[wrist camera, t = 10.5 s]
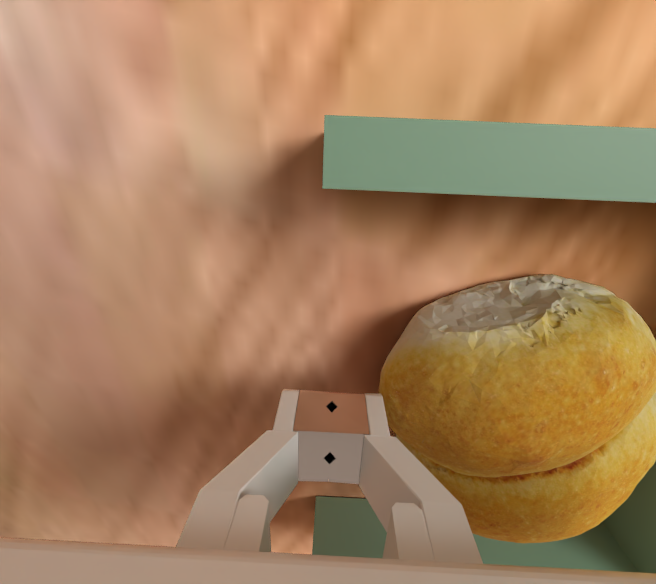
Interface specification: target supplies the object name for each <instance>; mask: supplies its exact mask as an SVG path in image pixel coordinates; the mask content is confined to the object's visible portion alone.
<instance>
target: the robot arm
mask: <svg viewBox="0 0 656 584" xmlns="http://www.w3.org/2000/svg"><path fill="white" fill-rule="evenodd" d="M328 479H329V482H338V483H351V484H359V487H360V489H361V490H362V492H363V494H364V495H365V497H366V499H367V500H368V502H369V504H370V505H371V507H372V509H373V510H374V512H375V514H376V515H377V517H378V519H379V520H380V522H381V524H382V525H383V527H384V529H385V530H386V532H387V536H386V541H385V547H384V552H383V558H365V557H346V556H329V555H311V554H293V553H275V552H271V540H270V522H271V520H272V519H273V517H274V516H275V515H276V513H277V512H278V510H279V509H280V508H281V506H282V505H283V503H284V502H285V501H286V499H287V498H288V496H289V495H290V494H291V492H292V491H293V489H294V488H295V487H296V485H297V484H298V481H322V482H328ZM0 584H656V573H639V572H621V571H603V570H585V569H567V568H549V567H531V566H513V565H495V564H483V562H482V559H481V556H480V553H479V551H478V548H477V545H476V542H475V540H474V537H473V534H472V531H471V528H470V526H469V523H468V520H467V517H466V515H465V512H464V509H463V506H462V504H461V503H460V502H459V501H458V500H457V499H456V498H455V497H454V496H453V495H452V494H451V493H450V492H449V491H448V490H447V489H446V488H445V487H444V486H443V485H442V484H441V483H440V482H439V481H438V480H437V479H436V478H435V477H434V476H433V475H432V474H431V473H430V471H429V470H428V469H427V468H426V467H425V466H424V465H423V464H422V463H421V462H420V461H419V460H418V459H417V458H416V457H415V456H414V455H413V454H412V453H411V452H410V451H409V450H408V449H407V448H406V447H405V446H404V445H403V444H402V443H401V442H400V441H399V440H398V439H397V438H396V437H393V436H390V432H389V427H388V422H387V417H386V412H385V407H384V401H383V396H382V395H381V394H378V393H342V392H325V391H311V390H294V389H283V391H282V392H281V396H280V401H279V405H278V409H277V413H276V417H275V421H274V425H273V430H267V431H266V432H265V433H263V434H262V435H261V436H260V437H259V438H258V439H257V440H256V441H254V442H253V443H252V444H251V445H250V446H249V447H248V448H246V449H245V450H244V451H243V452H242V453H241V454H240V455H239V456H237V457H236V458H235V459H234V460H233V461H232V462H231V463H230V464H228V465H227V466H226V467H225V468H224V469H223V470H222V471H221V472H219V473H218V474H217V475H216V476H215V477H214V478H213V479H212V480H210V481H209V482H208V483H207V484H206V485H205V486H204V487H203V488H201V489H200V491H199V493H198V495H197V498H196V500H195V503H194V505H193V507H192V510H191V512H190V514H189V517H188V519H187V521H186V524H185V526H184V529H183V531H182V533H181V536H180V538H179V540H178V543H177V545H176V547H167V546H149V545H131V544H112V543H94V542H76V541H58V540H40V539H22V538H4V537H0Z"/></svg>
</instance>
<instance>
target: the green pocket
mask: <svg viewBox="0 0 656 584" xmlns="http://www.w3.org/2000/svg"><path fill="white" fill-rule="evenodd" d="M322 188H323V189H347V190H370V191H393V192H417V193H440V194H463V195H487V196H510V197H533V198H557V199H580V200H603V201H626V202H650V203H656V129H655V128H630V127H605V126H581V125H556V124H531V123H507V122H482V121H458V120H433V119H408V118H384V117H359V116H334V115H325V121H324V154H323V187H322ZM472 534H473V533H472ZM386 536H387V532H386V530H385V529H384V527H383V525H382V524H381V522H380V520H379V519H378V517H377V515H376V514H375V512H374V510H373V509H372V507H371V505H370V504H369V502H368V500H367V499H361V498H342V497H324V496H316V503H315V519H314V535H313V550H312V555H329V556H346V557H365V558H383V552H384V547H385V541H386ZM473 537H474V540H475V542H476V545H477V548H478V551H479V553H480V556H481V559H482V562H483V564H495V565H513V566H531V567H549V568H567V569H585V570H603V571H621V572H639V573H656V461H655V463H654V465H653V466H652V467H651V468H650V469H649V470H648V471H647V473H646V474H645V476H644V477H643V478H642V479H641V481H640V482H639V483H638V484H637V485H636V487H635V489H634V490H633V492H632V493H631V495H630V496H629V497H628V499H627V500H626V501H625V502H624V503H623V504H622V505H620V506H619V507H618V508H617V509H616V510H615V511H614V512H613V513H612V514H611V515H610V516H608V517H607V518H606V519H605V520H604V521H602V522H601V523H600V524H599V525H597V526H596V527H594V528H592V529H590V530H588V531H586V532H584V533H582V534H580V535H578V536H575V537H571V538H567V539H563V540H558V541H552V542H542V543H515V542H507V541H500V540H494V539H490V538H485V537H482V536H479V535H476V534H473Z"/></svg>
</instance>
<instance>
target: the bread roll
mask: <svg viewBox="0 0 656 584" xmlns="http://www.w3.org/2000/svg"><path fill="white" fill-rule="evenodd" d="M378 394H381V395H382V396H383V401H384V407H385V412H386V417H387V422H388V426H389V427H390V428H391V429H392V431H393V432H394V433H396V438H397V439H398V440H399V441H400V442H401V443H402V444H403V445H404V446H405V447H406V448H407V449H408V450H409V451H410V452H411V453H412V454H413V455H414V456H415V457H416V458H417V459H418V460H419V461H420V462H421V463H422V464H423V465H424V466H425V467H426V468H427V469H428V470H429V471H430V473H431V474H432V475H433V476H434V477H435V478H436V479H437V480H438V481H439V482H440V483H441V484H442V485H443V486H444V487H445V488H446V489H447V490H448V491H449V492H450V493H451V494H452V495H453V496H454V497H455V498H456V499H457V500H458V501H459V502H460V503H461V504H462V506H463V509H464V512H465V515H466V517H467V520H468V523H469V526H470V528H471V531H472V533H473V534H476V535H479V536H482V537H485V538H490V539H494V540H500V541H507V542H515V543H542V542H552V541H558V540H563V539H567V538H571V537H575V536H578V535H580V534H582V533H584V532H586V531H588V530H590V529H592V528H594V527H596V526H597V525H599V524H600V523H601V522H602V521H604V520H605V519H606V518H607V517H608V516H610V515H611V514H612V513H613V512H614V511H615V510H616V509H617V508H618V507H619V506H620V505H622V504H623V503H624V502H625V501H626V500H627V499H628V497H629V496H630V495H631V493H632V492H633V490H634V489H635V487H636V485H637V484H638V483H639V482H640V481H641V479H642V478H643V477H644V476H645V474H646V473H647V471H648V470H649V469H650V468H651V467H652V466H653V465H654V463H655V461H656V340H655V338H654V336H653V334H652V332H651V330H650V328H649V327H648V325H647V324H646V323H645V321H644V320H643V319H642V317H641V316H640V315H639V314H638V313H637V312H636V311H635V310H634V309H633V308H632V307H631V306H630V305H629V304H628V302H626V301H624V300H622V299H620V298H618V297H616V296H615V294H614V293H612V292H610V291H609V290H607V289H605V288H604V287H602V286H598V285H594V284H590V283H586V282H583V281H579V280H575V279H570V278H563V277H561V276H558V275H553V274H550V275H548V274H538V275H532V276H526V277H521V278H517V279H512V280H506V281H498V282H490V283H486V284H482V285H478V286H475V287H473V288H469V289H466V290H463V291H460V292H457V293H454V294H452V295H449V296H446V297H443V298H440V299H438V300H436V301H434V302H432V303H430V304H428V305H426V306H424V307H423V308H421V309H420V310H419V311H418V312H417V313H416V314H415V315H414V316H413V318H412V319H411V321H410V322H409V324H408V325H407V327H406V328H405V330H404V332H403V333H402V335H401V337H400V338H399V340H398V341H397V343H396V344H395V346H394V347H393V348H392V350H391V352H390V353H389V355H388V356H387V358H386V361H385V363H384V365H383V367H382V370H381V376H380V384H379V393H378Z"/></svg>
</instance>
